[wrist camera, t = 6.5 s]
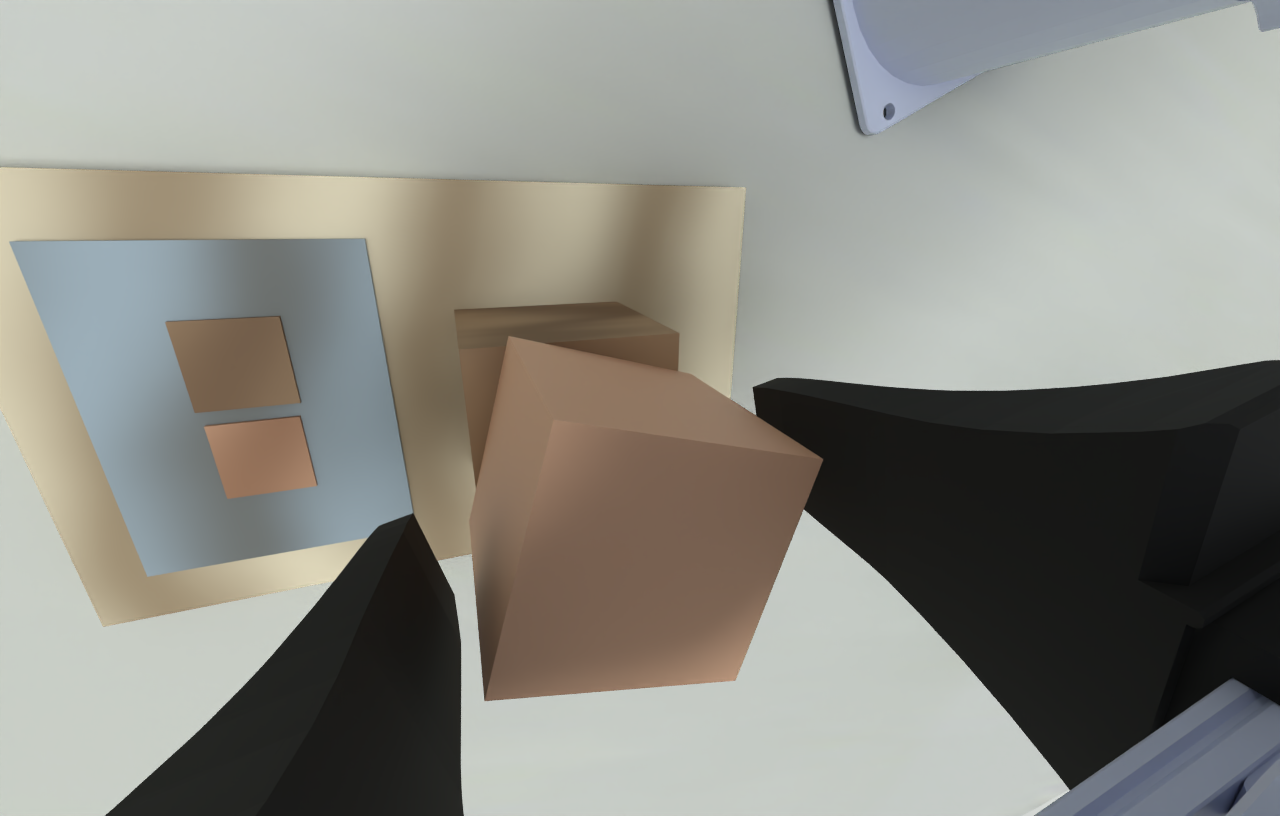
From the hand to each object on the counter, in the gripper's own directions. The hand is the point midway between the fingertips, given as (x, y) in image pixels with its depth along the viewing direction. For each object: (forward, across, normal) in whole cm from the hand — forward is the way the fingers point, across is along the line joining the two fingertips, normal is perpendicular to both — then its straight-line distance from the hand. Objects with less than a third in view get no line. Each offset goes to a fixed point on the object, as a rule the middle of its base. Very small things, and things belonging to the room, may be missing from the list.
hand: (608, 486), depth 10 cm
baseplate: (+8, +3, -1) cm, 9 cm away
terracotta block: (+2, 0, 0) cm, 2 cm away
